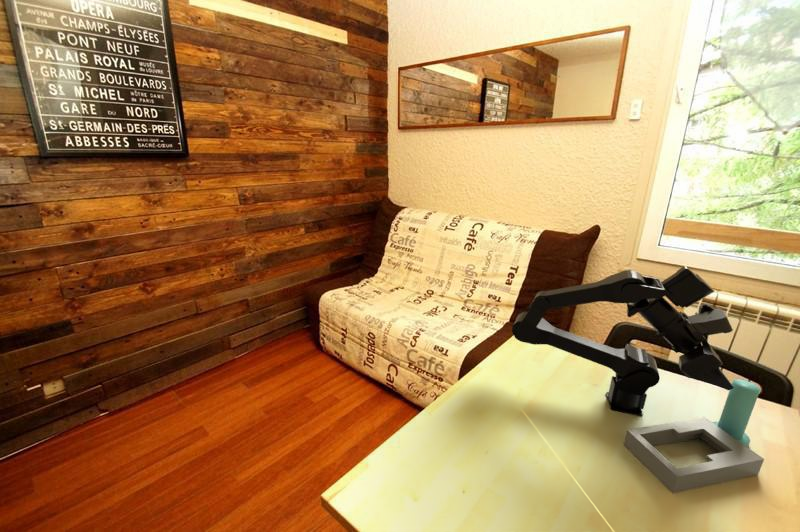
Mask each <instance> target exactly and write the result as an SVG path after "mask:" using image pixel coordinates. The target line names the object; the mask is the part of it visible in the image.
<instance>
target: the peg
mask: <svg viewBox="0 0 800 532" xmlns="http://www.w3.org/2000/svg"><path fill="white" fill-rule="evenodd" d="M731 384H732V386H733V387H734V388H733V389H731V390H728V394H727V397H726V400H725V403H724V406H723V409H722V412H721V414H720V416H719V421H711V422H712V423H714V424H715V425H717V426H718V427H719V428H721V429H722V430H724V431H725V432H727V433H728V434H729V435H731V436H732V437H734V438H735V439H736V440H738V441H739V442H741V443H742V444H744V445H745V446H746V447H748V448H749V445H750V443H751V439H750V436H749V435H748V434H747V433H745V431H746V429H747V426H748V423H749V421H750V418H751V416H752V413H753V410H754V409H755V406H756V402H757V400H758V397H759V394H760V391H761V388H760V387H759V386H758V385H756V384H755V383H753V382H750V381H747V380H744V379H740V378H739V379H738V378H735V379H733V380H732V382H731Z"/></svg>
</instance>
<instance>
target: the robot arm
mask: <svg viewBox="0 0 800 532" xmlns="http://www.w3.org/2000/svg"><path fill="white" fill-rule="evenodd" d="M714 292H715V290H714V289H713V288H712V286H711V285H709V283H707V281H706V280H704V278H702V277H701V276H700V275H699V274H698V273H695V272H694V271H692V270H691V269H690V268H688V266H687V265H685V266H682V267H681V268H679V269H678V270H677V271H676V272H675V273H673V274H672V275H670V276H668V277H667V278H665V279H664V280H662V279H661V278H659V277H652V276H646V275H643V274H641V273H640V272H638V271H636V270H634V269H626V270H621V271H620V272H617V273H613V274H611V275H608V276H606V277H604V278H603V279H601V280H598V281H595V282H589V283H584V284H578V285H573V286H567V287H566V286H565V287H562V288H557V289H550V290H541V291H538V292H537V293H536V294H535V297H534V299H533V300H532V302H531V303H530V304H529V306H528V307H527V309H526V310H525V311H523V312H520V313H519V314H518V315H517V317H516V319H515V320H514V323H513V325H512V326H511V327H512V328H511V333H512V335H513V336H514V338H515V339H516V340H517V341H519V342H521V343H525V344H526V343H527V344H530V345H533V346H534V345H538V346H539V345H548V346H550V347H553V348H556V349H558V350H561V351H564V352H566V353H569V354H571V355H573V356H576V357H580V358H582V359H585V360H588V361H590V362H593V363H595V364H598V365H601V366H603V367H606V368H608V369H610V370H611V371H613V372H614V373H615V376H614V375H612V376H611V380H610V385H609V390H608V391H606V392H605V396H606V399H607V402H608V405H609V409H610V410H611V411H614V412H619V413H623V414H629V415H635V416H640V417H643V415H644V414H643V413H644V412H643V411H642V410H644V407H645V405H646V400H647V396H648V394H647V392H648V390H649V389H650V388H652V387H655V386H656V385H658V383H659V382H660V374H659V373H660V372H659V369H658V366H657V361H656V359H655V357H653V355H652V354H650V353H648V352H647V350H646V349H645V348H639V347H636V346H634V345H631V344H629V343H626V344H625V347H624V348H615V347H611V346H608V345H606V344H603V343H600V342H597V341H594V340H593V339H589V338H586V337H583V336H580V335H578V334H575V333H572V332H569V331H566V330H563V329H560V328H558V327H555V326H553V325H552V324H550V322H548V321H547V320H546V319H545V318H544V316H545V315H546V312H547V311H548V310H552V309H559V308H560V309H561V308H567V307H571V306H572V307H573V306H578V305H580V306H581V305H587V304H592V303H599V302H601V303H602V302H607V303H613V304H626V316H627V317H628V318H632V317H633V316H635V315H637V314H639V316H641V317H642V318H643V319H644V320H645V321H646V322H647V323H648V324H649V325H650V326H651V327H652V328H653V329H654V330H655V331H656V335H657V336H658V338H660V339H662V338H664V339H665V341H667V343H668V344H670V345H671V349H672V350H673V352H675V354H678V353H680V352H686V351H687V352H686V353H684V354H681V355H680V356H678V365H679V369H680V372H682V373H683V375H685V376H686V377H687V378H688V379H694V378H695V379H698V380H701V381H704V382H707V383H709V384H712V385H714V386H717V387H719V388H722V389H724V390H727V391H730V390H731V389H733V388H734V387H733V386H732V382H731V381H730V380H729V379H728V377H727V376H726V375H725V374H724V371H722V370H721V368H720V367H722V366H723V365H724V364H723V362H722V360H721V358H720V357H721V356H720V355H718V354H717V353H716V351H715V350H714V349H713V348H712V346H711V344H710V342H709V341H708V339H709V336H713V335H718V334H728V333H731V332H733V330H734V329H733V327H732V325H731V323H730V320H729V319H728V316H727V314H726V313H725V310H723V309H720V307H716V308H715V307H713V306H712V305H710V304H709V303H708V302H707V303H703V304H699V307H698V312H695V313H694V314H693V315H688V314H686V313H685V312H684V311H683V312H682V311H679V310H677V309H676V308H675V307H680V308H682V309H683V308H689V307H690V306H691V307H692V305H695V304H696V303H697V302H699V301H701V300H702V299H704V298H706V297H708V296H710V295H712V294H713V293H714ZM664 297H666V298H667V299H668V300H667V299H665V298H664ZM669 301H670V302H671V303H672V304H673V305H675V307H674V306H673V305H672V304H671V303H670V302H669Z"/></svg>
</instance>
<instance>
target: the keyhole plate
mask: <svg viewBox="0 0 800 532" xmlns="http://www.w3.org/2000/svg"><path fill="white" fill-rule="evenodd" d="M712 422H713V421H711V420H709V419H708V418H707V417H705V416H702V417H697V418H689V419H685V420H684V419H683V420H678V421H673V422H667V423H660V424H653V425H649V426H643V427H637V428H631V429H627V430H626V434H625V438H624V442H623V446H624V447H625V448H626V449H628V451H629V452H630V453H631V454H632V455H633V456H634V457H636V458H637V459H638V460H639V462H640V463H641V464H643V466H645V467H646V468H647V470H648V471H649V472H651V474H652V475H654V476H655V478H657V480H659V481H660V482H661V483H662V485H664V486H665V487H666V488H667V489H668V491H670V492H671V493H672V494H675V493H679V492H684V491H688V490H689V491H690V490H693V489H699V488H703V487H707V486H712V485H716V484H718V485H719V484H722V483H727V482H730V481H731V482H732V481H735V480H741V479H745V478H749V477H750V478H751V477H756V476H758V475H759V474H760V471H761V468H762V466H763V463H764V461H765V458H763V457H762V456H761V455H759V454H757V452H755V451H754V450H752V449H751V448H750V447H749V446H748V447H746V446H745V445H744V444H742V443H741V442H739V441H738V440H736V439H735V438H734V437H732V436H731V435H729V434H728V433H727V432H725V431H724V430H722V429H721V428H719V427H718V426H717V425H715V424H714V423H712ZM699 438H700V439H702V440H704V442H706V443H707V444H708V445H710V446H712V447H713V448H714V449H715V450H716V451H718V452H717V453H713V454H707V455H706V457H705V461H706V462H702V463H695V464H691V465H685V466H680V467H676V466H675V464H673V463H672V462H671V461H670V460H669V459H667V457H665V456H664V454H662V453H661V451H659V450H657V448H655V447H656V446H663V445H667V444H674V443H679V442H684V441H691V440H694V439H699Z"/></svg>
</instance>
